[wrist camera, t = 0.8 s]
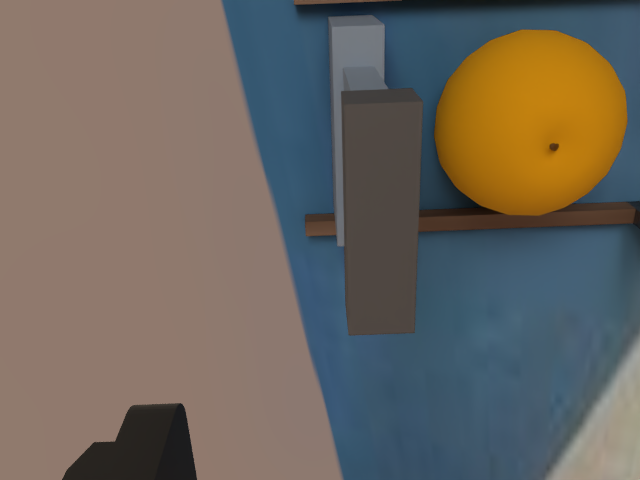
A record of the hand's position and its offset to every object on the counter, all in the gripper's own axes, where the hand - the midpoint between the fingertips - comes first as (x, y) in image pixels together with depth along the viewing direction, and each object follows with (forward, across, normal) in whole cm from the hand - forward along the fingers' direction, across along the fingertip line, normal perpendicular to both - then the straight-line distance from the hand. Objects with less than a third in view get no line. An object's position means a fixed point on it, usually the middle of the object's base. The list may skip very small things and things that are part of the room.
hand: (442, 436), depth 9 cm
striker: (+22, 0, 0) cm, 22 cm away
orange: (+22, -8, 0) cm, 23 cm away
